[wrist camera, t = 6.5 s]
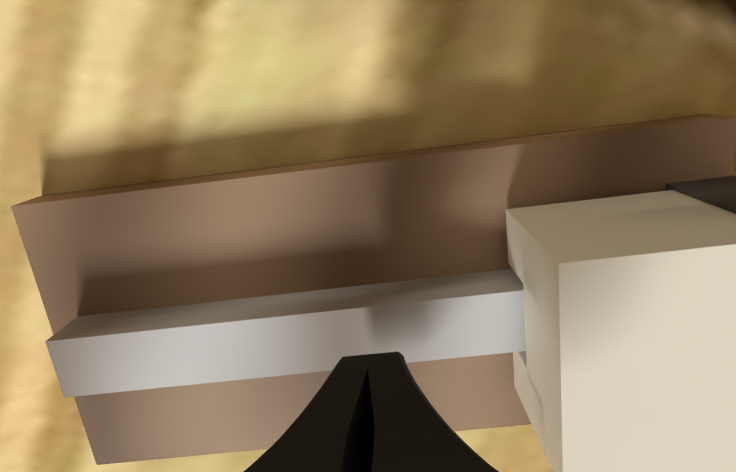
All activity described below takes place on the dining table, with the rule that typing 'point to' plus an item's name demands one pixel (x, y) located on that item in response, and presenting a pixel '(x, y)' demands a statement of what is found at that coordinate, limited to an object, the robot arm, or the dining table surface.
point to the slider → (628, 332)
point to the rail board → (320, 279)
